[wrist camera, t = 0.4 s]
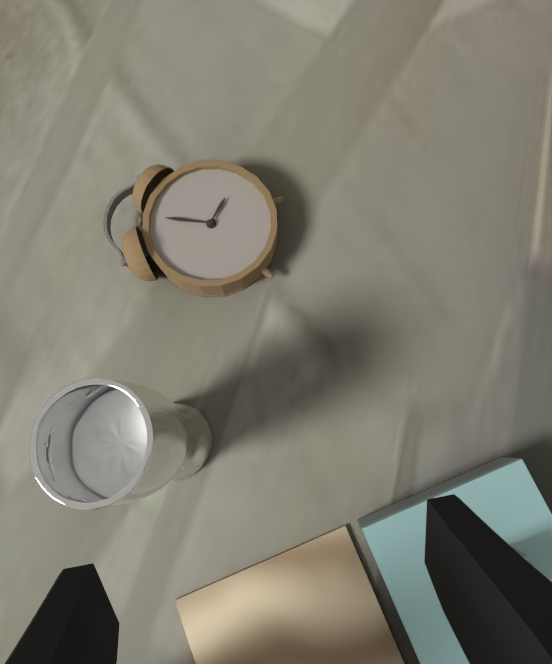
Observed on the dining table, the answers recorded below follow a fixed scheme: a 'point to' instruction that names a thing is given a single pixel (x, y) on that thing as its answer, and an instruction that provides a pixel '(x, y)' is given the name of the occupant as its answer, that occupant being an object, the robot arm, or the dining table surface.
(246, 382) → the dining table surface
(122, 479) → the beer glass
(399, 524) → the lid
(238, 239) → the alarm clock
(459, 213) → the dining table surface
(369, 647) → the cork pad
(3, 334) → the dining table surface
